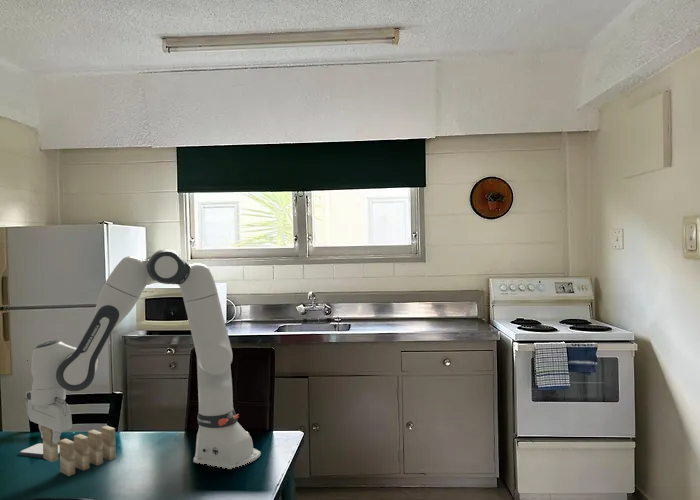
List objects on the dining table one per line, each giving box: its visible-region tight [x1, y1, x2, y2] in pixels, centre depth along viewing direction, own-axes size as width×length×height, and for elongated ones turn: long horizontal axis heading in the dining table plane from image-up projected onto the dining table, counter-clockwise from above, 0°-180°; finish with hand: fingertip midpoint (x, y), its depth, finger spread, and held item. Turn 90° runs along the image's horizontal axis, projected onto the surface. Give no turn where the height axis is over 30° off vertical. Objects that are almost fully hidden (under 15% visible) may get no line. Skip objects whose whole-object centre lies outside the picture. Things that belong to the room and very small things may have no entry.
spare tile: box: [42, 426, 59, 463], centre depth 163 cm, size 2×5×10 cm, turn 54°
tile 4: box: [58, 438, 76, 477], centre depth 166 cm, size 2×5×10 cm, turn 54°
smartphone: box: [18, 442, 60, 459], centre depth 184 cm, size 9×2×16 cm
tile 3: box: [73, 433, 90, 472], centre depth 170 cm, size 2×5×10 cm, turn 54°
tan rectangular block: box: [100, 425, 117, 461], centre depth 177 cm, size 2×5×10 cm, turn 54°
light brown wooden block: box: [87, 429, 104, 466], centre depth 174 cm, size 2×5×10 cm, turn 55°
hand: (50, 440), depth 163 cm, fingers closed on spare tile, 5 cm apart
